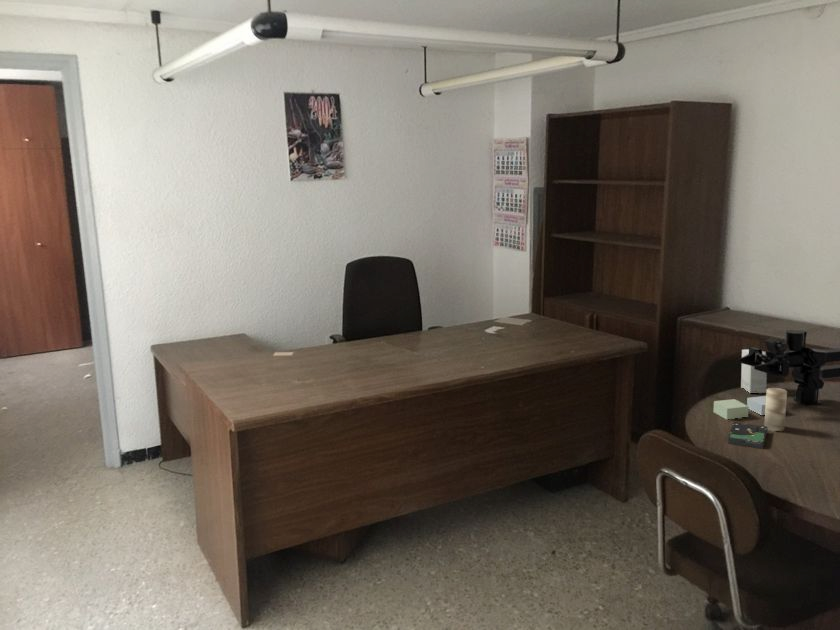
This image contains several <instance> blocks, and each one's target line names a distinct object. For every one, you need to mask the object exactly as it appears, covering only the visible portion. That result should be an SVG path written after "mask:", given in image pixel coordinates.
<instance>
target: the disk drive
mask: <svg viewBox="0 0 840 630" xmlns="http://www.w3.org/2000/svg"><path fill="white" fill-rule="evenodd" d="M767 436H768V430H767V426H764V425H759V424H754V423H753V424H751V423H747V424H743V423H742V422H738V421H733V422H732V426H731V429H730V430H729V433H728V436H727V444H729V445H736V446H741V447H742V446H743V447H748V448H749V447H751V448H755V447H756V449H762V448H763V449H764V447H763V446H765V443H766V442H765V441H766V437H767ZM764 442H765V443H764ZM757 447H758V448H757Z"/></svg>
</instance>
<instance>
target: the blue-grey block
mask: <svg viewBox="0 0 840 630" xmlns="http://www.w3.org/2000/svg"><path fill="white" fill-rule="evenodd" d="M746 399H747V401H746V405H747V406H749V409H750V410H749V409H748V410H749V411H751V410H752V411H751V412H753V411H754V412H756V413H758V414H760V415H765V405H766V395H762V396H752V397H747V398H746ZM754 412H753V413H754ZM756 413H755V414H756ZM758 414H757V415H758ZM760 415H759V416H760Z"/></svg>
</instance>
